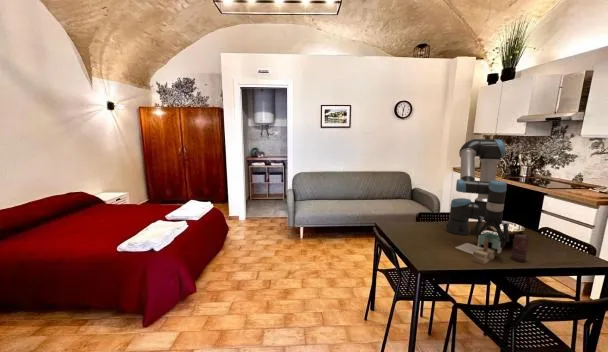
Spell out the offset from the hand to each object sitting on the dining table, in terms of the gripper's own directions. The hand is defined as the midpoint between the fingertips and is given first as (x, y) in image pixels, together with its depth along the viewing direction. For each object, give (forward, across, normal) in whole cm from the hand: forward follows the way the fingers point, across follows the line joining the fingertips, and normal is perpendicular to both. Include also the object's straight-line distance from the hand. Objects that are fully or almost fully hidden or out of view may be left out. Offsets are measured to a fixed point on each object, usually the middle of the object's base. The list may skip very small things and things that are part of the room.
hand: (488, 249), depth 143 cm
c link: (-2, 0, +2) cm, 3 cm away
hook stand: (+5, 0, -6) cm, 7 cm away
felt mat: (+5, -9, +3) cm, 10 cm away
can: (+5, +10, +11) cm, 16 cm away
